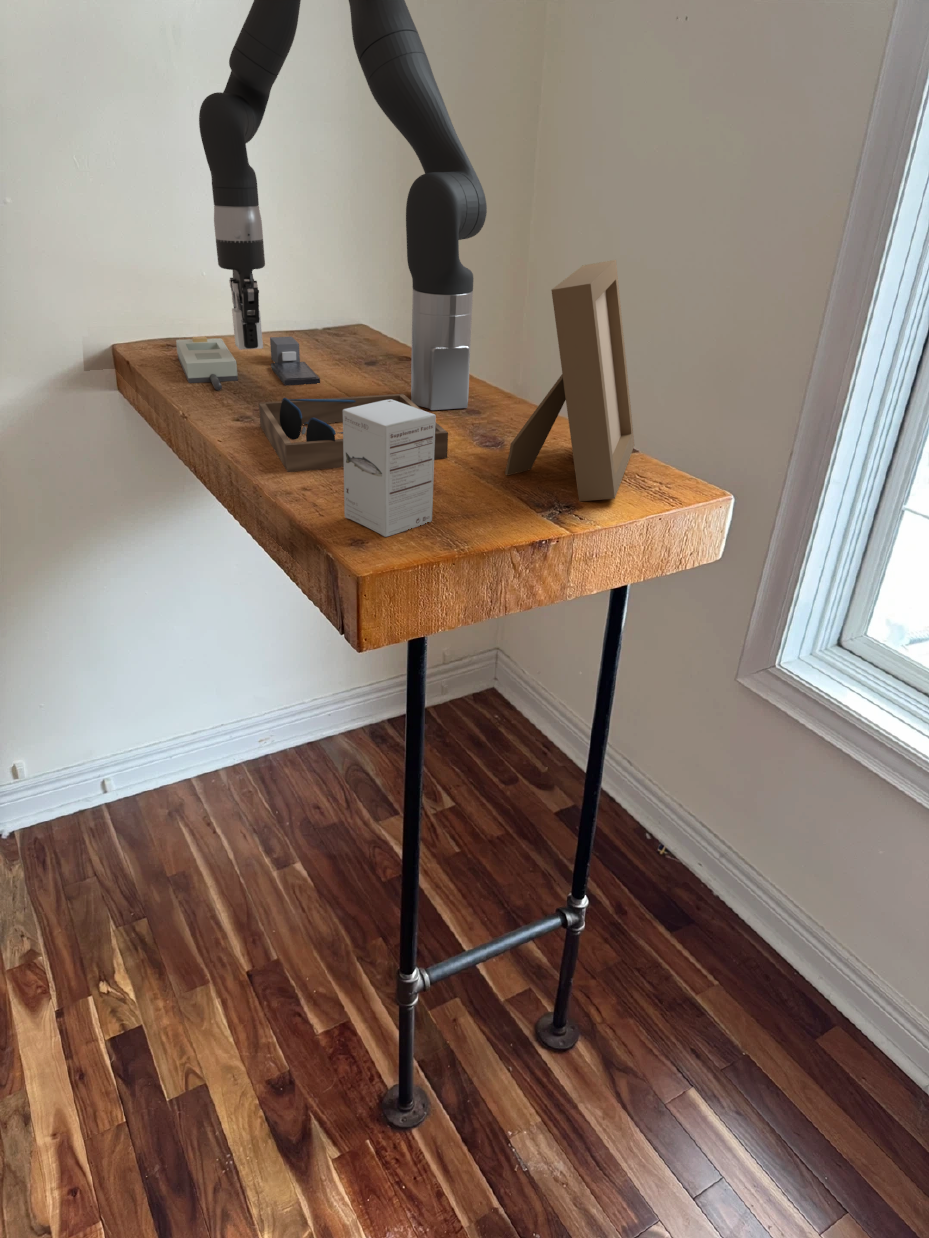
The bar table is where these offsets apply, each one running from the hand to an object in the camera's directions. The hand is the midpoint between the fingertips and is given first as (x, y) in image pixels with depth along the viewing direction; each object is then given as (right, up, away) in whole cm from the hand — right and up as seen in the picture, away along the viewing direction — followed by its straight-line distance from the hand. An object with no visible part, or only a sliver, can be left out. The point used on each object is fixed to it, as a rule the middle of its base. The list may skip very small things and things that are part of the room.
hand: (248, 344), depth 151 cm
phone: (+7, -5, +3) cm, 9 cm away
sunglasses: (+21, -22, -28) cm, 41 cm away
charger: (0, 0, 0) cm, 0 cm away
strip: (-7, -4, +1) cm, 9 cm away
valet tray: (+21, -22, -28) cm, 41 cm away
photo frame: (+51, -27, -34) cm, 67 cm away
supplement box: (+28, -36, -51) cm, 69 cm away
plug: (+4, 0, +11) cm, 11 cm away
